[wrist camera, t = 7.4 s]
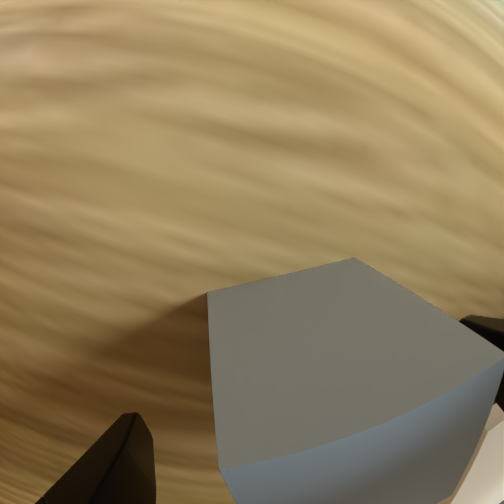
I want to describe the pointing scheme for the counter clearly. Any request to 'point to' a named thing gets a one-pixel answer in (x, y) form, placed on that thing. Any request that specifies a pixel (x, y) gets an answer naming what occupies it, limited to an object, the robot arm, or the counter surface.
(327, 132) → the counter surface
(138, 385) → the counter surface
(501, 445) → the lid
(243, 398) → the blue gray block
